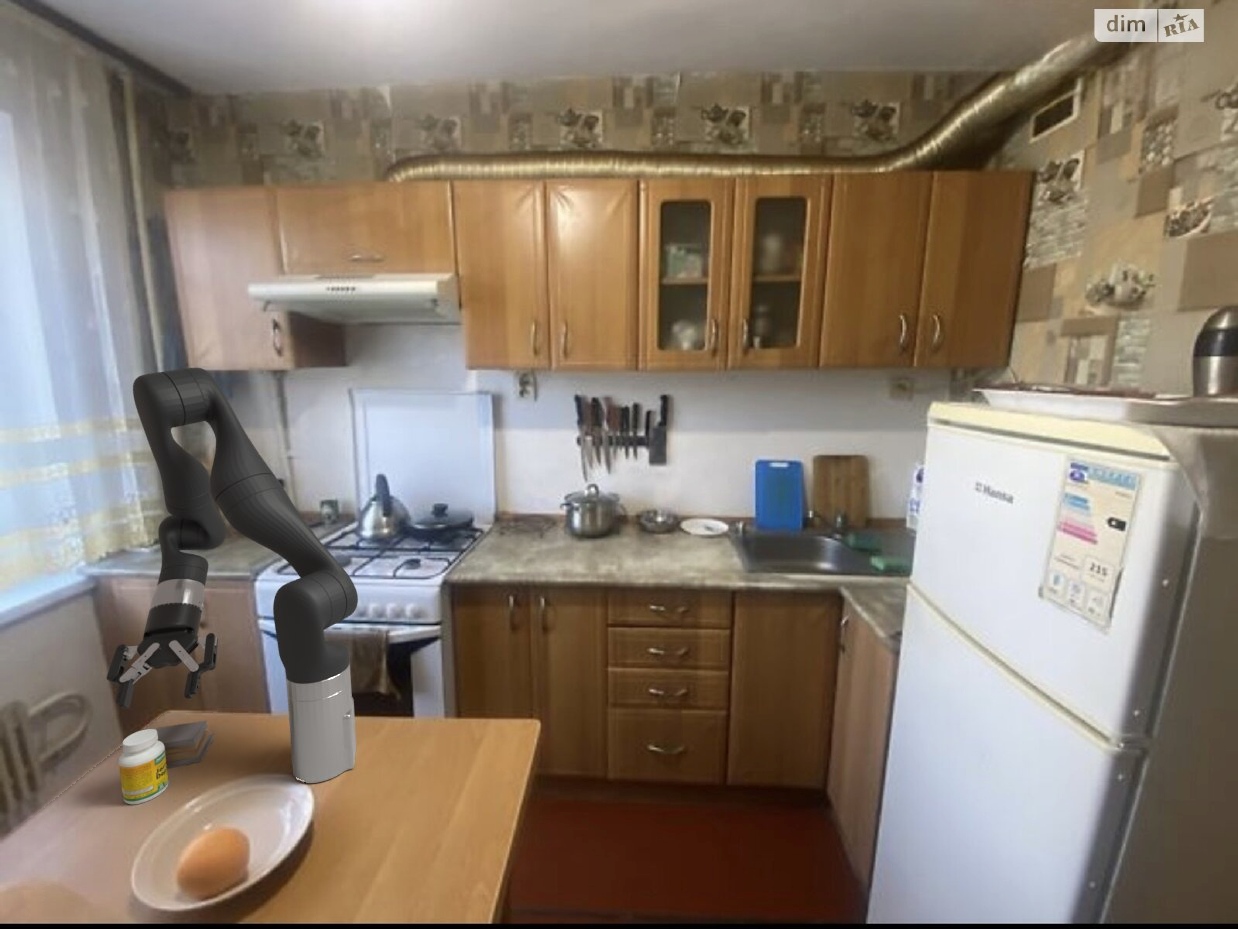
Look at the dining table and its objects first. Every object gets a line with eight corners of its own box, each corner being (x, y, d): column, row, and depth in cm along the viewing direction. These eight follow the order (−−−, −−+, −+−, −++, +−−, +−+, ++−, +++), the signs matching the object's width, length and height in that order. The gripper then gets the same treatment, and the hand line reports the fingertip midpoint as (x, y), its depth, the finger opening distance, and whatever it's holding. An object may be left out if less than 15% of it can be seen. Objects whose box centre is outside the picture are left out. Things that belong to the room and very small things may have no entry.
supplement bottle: (129, 787, 85) (122, 732, 83) (172, 776, 87) (166, 722, 86) (118, 811, 80) (111, 752, 79) (164, 798, 82) (158, 741, 81)
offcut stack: (214, 737, 97) (211, 715, 96) (201, 761, 91) (198, 738, 90) (151, 749, 94) (149, 727, 93) (134, 775, 87) (131, 751, 87)
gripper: (117, 607, 92) (90, 705, 83) (217, 596, 97) (202, 687, 88) (135, 624, 97) (111, 717, 88) (228, 612, 103) (215, 700, 94)
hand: (156, 702), depth 88 cm, fingers open, 8 cm apart
